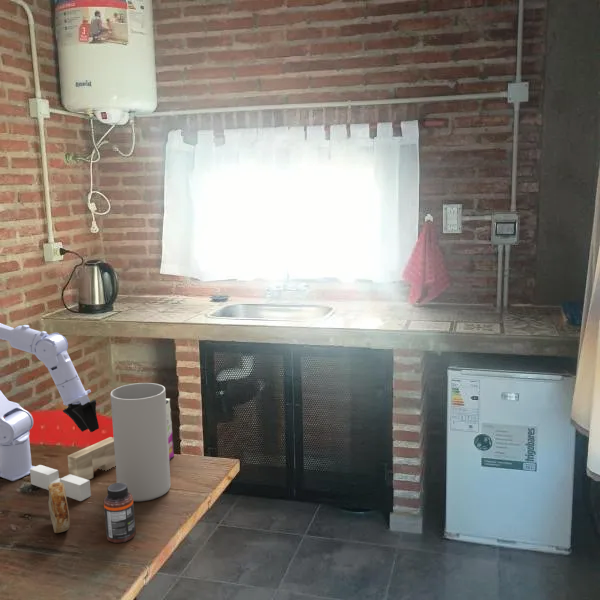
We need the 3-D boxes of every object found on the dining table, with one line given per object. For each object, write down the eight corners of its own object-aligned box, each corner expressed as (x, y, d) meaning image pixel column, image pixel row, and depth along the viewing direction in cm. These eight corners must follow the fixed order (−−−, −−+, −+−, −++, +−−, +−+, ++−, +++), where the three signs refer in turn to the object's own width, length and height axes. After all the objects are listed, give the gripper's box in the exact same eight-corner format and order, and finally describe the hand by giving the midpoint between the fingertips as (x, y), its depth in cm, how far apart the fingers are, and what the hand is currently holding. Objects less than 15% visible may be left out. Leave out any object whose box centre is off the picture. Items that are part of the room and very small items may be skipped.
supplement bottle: (111, 529, 143) (107, 479, 141) (138, 529, 143) (135, 479, 141) (102, 544, 137) (98, 493, 135) (131, 544, 137) (127, 492, 135)
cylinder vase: (116, 483, 165) (109, 386, 160) (167, 475, 169) (162, 380, 164) (119, 506, 153) (111, 402, 149) (173, 497, 157) (168, 395, 152)
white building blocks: (31, 484, 165) (29, 469, 165) (41, 479, 168) (40, 464, 167) (80, 501, 156) (79, 485, 155) (90, 496, 158) (89, 480, 158)
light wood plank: (69, 482, 166) (67, 455, 165) (112, 461, 178) (110, 436, 176) (77, 485, 164) (75, 458, 163) (120, 464, 176) (118, 439, 175)
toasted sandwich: (72, 537, 140) (69, 493, 138) (54, 541, 139) (50, 496, 137) (67, 515, 149) (63, 473, 148) (49, 519, 148) (45, 477, 146)
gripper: (90, 372, 161) (114, 422, 163) (74, 375, 173) (96, 422, 174) (63, 385, 157) (87, 436, 159) (48, 387, 169) (71, 435, 171)
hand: (90, 430), depth 166 cm, fingers open, 7 cm apart
